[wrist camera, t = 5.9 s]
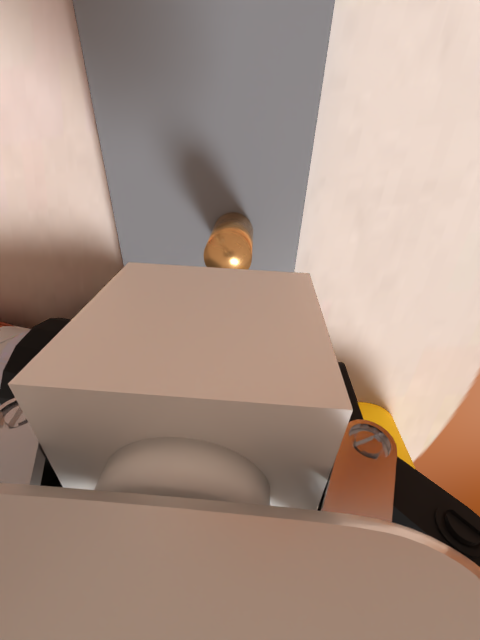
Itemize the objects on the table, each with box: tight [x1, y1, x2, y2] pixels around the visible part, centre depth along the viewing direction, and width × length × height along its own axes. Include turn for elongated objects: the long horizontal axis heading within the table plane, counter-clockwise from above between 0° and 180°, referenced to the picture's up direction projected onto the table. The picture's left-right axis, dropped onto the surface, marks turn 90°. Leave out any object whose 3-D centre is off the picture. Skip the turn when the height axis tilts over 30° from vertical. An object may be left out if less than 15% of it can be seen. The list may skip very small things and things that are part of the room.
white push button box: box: [8, 262, 353, 510], centre depth 9 cm, size 6×6×7 cm
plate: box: [73, 0, 335, 272], centre depth 21 cm, size 20×14×1 cm
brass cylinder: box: [204, 212, 253, 270], centre depth 21 cm, size 3×3×5 cm
